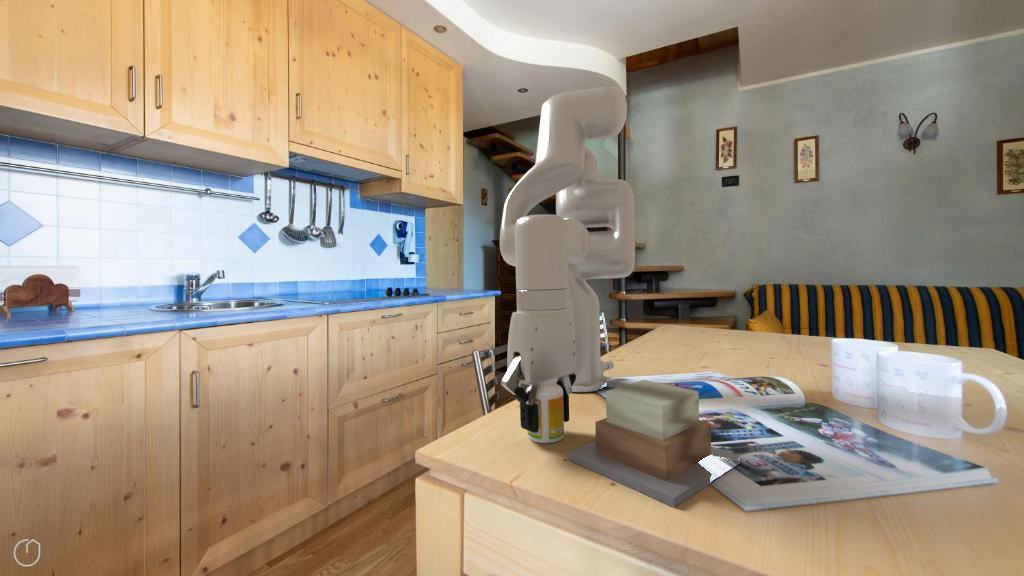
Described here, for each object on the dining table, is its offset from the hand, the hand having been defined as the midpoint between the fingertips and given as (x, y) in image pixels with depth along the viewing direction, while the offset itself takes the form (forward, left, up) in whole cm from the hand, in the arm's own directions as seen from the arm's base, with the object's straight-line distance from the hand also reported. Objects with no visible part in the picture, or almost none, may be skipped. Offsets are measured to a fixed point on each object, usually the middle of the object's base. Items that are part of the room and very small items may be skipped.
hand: (545, 423), depth 64 cm
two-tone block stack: (-5, +15, -2) cm, 16 cm away
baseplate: (-5, +15, -2) cm, 16 cm away
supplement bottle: (0, 0, -2) cm, 2 cm away
